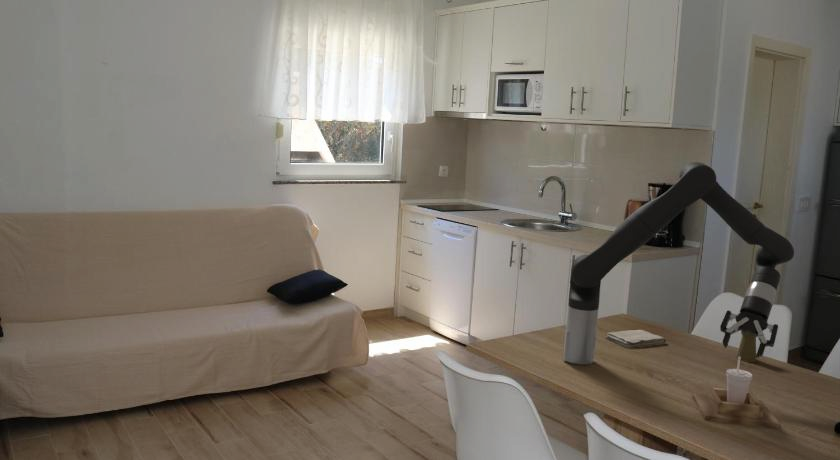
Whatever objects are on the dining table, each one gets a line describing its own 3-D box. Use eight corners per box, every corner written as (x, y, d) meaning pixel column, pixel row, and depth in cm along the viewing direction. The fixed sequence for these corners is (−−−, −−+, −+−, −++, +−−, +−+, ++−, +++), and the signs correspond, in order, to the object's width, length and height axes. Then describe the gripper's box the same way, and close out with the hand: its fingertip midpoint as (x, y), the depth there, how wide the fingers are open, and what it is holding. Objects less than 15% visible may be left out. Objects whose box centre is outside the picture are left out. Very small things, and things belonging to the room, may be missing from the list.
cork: (758, 363, 235) (762, 330, 233) (738, 360, 236) (742, 328, 234) (753, 357, 241) (757, 325, 239) (734, 355, 242) (738, 323, 240)
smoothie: (717, 402, 195) (724, 352, 193) (740, 403, 195) (747, 353, 193) (728, 412, 188) (735, 360, 186) (752, 413, 189) (759, 361, 187)
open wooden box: (704, 420, 186) (706, 404, 185) (692, 397, 201) (693, 382, 201) (779, 428, 183) (781, 412, 182) (760, 404, 198) (762, 390, 198)
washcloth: (603, 339, 253) (604, 331, 252) (641, 335, 261) (642, 326, 261) (627, 350, 242) (628, 341, 242) (666, 345, 251) (667, 336, 250)
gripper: (732, 288, 207) (714, 338, 202) (786, 303, 200) (769, 355, 195) (732, 299, 213) (714, 348, 208) (784, 314, 206) (768, 365, 201)
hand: (741, 351), depth 201 cm, fingers open, 8 cm apart
